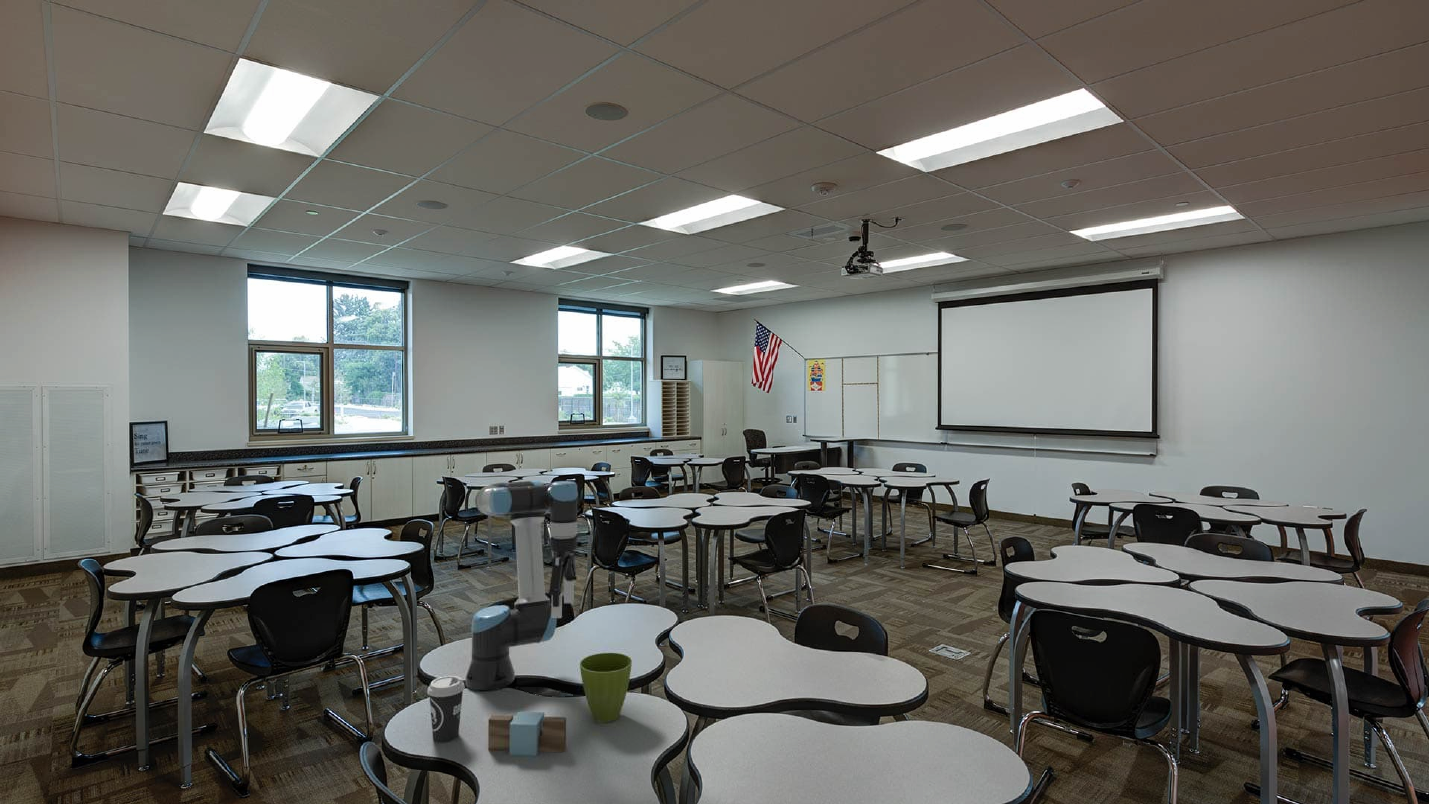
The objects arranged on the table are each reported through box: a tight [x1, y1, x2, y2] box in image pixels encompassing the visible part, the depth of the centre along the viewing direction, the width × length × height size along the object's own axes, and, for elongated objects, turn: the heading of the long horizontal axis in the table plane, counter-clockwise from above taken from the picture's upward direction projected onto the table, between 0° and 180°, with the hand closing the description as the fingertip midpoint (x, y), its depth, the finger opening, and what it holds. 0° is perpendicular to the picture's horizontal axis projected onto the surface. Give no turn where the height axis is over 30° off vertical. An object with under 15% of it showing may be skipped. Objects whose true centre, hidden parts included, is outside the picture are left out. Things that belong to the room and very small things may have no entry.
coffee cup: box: [426, 675, 466, 743], centre depth 186 cm, size 10×10×15 cm
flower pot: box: [579, 652, 633, 723], centre depth 198 cm, size 15×15×16 cm
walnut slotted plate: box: [487, 714, 567, 753], centre depth 180 cm, size 2×20×8 cm, turn 88°
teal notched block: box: [509, 711, 545, 757], centre depth 180 cm, size 7×7×8 cm
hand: (562, 610), depth 196 cm, fingers open, 13 cm apart
